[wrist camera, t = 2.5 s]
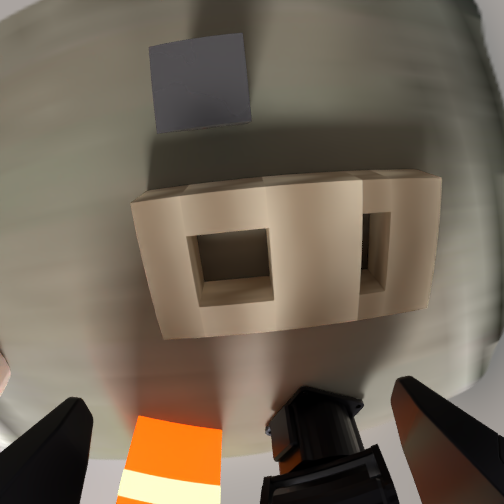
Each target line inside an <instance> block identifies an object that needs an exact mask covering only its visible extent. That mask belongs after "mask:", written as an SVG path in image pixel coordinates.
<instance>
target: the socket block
mask: <svg viewBox="0 0 504 504" xmlns="http://www.w3.org/2000/svg"><path fill="white" fill-rule="evenodd" d="M441 191H442V178H441V177H438V176H435V175H432V174H429V173H426V172H423V171H420V170H417V169H392V170H359V171H337V172H319V173H303V174H290V175H277V176H265V177H255V178H244V179H234V180H225V181H216V182H208V183H200V184H192V185H184V186H176V187H169V188H162V189H155V190H149V191H146V192H145V193H143V194H142V195H140V196H139V197H138V198H136V199H135V200H134V201H133V202H131V203H130V204H131V209H132V214H133V220H134V225H135V229H136V234H137V239H138V244H139V248H140V253H141V257H142V261H143V266H144V270H145V274H146V278H147V282H148V286H149V290H150V294H151V298H152V302H153V305H154V309H155V313H156V316H157V320H158V324H159V327H160V331H161V334H162V337H163V340H165V339H185V338H202V337H216V336H229V335H241V334H252V333H263V332H272V331H282V330H291V329H299V328H307V327H315V326H322V325H330V324H337V323H344V322H351V321H357V320H363V319H370V318H376V317H382V316H387V315H393V314H399V313H404V312H409V311H415V310H420V309H425V308H427V307H428V302H429V296H430V291H431V285H432V279H433V272H434V265H435V258H436V250H437V241H438V232H439V221H440V208H441ZM367 213H370V223H369V252H368V269H363V270H361V256H362V220H363V214H367ZM263 228H266V235H267V247H268V260H269V272H270V276H260V277H250V278H240V279H230V280H219V281H208V282H204V276H203V270H202V264H201V258H200V252H199V246H198V240H197V235H204V234H213V233H223V232H233V231H243V230H253V229H263Z"/></svg>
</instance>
